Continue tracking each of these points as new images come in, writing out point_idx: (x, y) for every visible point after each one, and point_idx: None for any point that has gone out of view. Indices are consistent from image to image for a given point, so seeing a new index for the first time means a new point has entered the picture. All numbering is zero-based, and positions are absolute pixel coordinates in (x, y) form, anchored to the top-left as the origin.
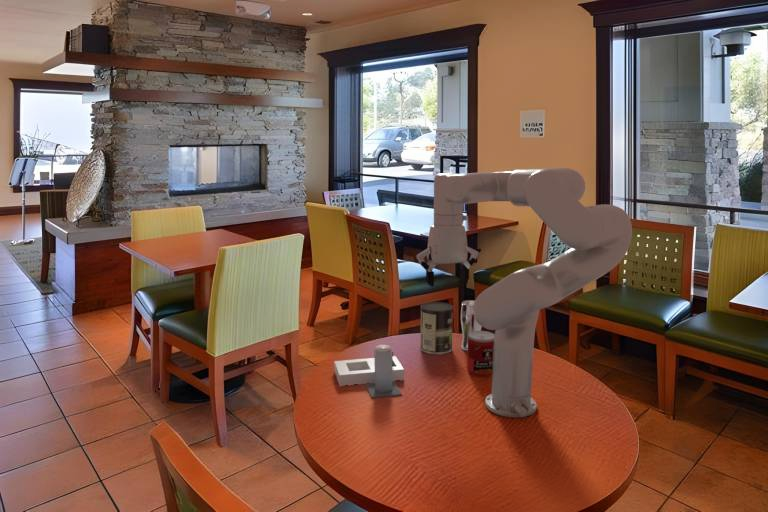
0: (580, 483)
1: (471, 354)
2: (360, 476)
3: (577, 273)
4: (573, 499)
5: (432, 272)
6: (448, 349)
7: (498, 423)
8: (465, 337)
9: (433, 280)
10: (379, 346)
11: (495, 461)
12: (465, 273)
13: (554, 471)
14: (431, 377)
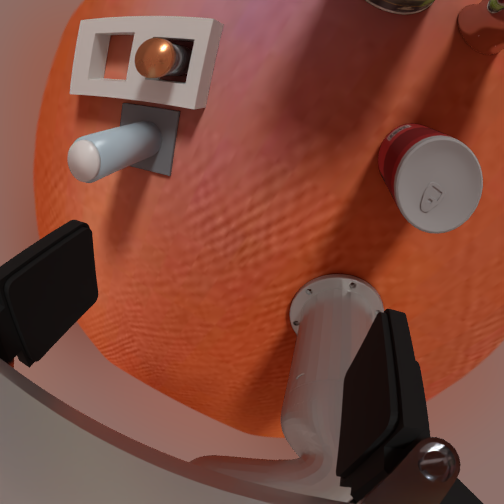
0: (270, 426)
1: (385, 173)
2: (84, 319)
3: None
4: (247, 429)
5: (26, 360)
6: (412, 11)
7: (276, 336)
8: (476, 22)
9: (71, 321)
10: (76, 150)
11: (216, 378)
12: (339, 449)
13: (262, 411)
14: (275, 121)
